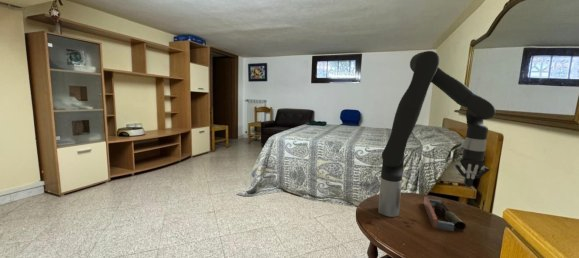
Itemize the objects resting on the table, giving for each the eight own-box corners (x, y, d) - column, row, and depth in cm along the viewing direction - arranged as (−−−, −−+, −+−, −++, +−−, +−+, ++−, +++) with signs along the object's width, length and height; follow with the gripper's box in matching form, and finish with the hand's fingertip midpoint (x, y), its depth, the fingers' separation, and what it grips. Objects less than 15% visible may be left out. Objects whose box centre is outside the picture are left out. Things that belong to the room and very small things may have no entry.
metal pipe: (465, 231, 99) (467, 219, 98) (449, 230, 100) (450, 218, 99) (442, 210, 117) (443, 199, 116) (428, 209, 117) (429, 199, 116)
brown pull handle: (432, 227, 101) (433, 219, 101) (423, 203, 123) (424, 196, 123) (453, 231, 99) (454, 222, 98) (440, 206, 121) (441, 198, 120)
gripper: (458, 148, 101) (453, 186, 104) (497, 152, 96) (489, 191, 99) (453, 144, 108) (448, 180, 111) (489, 148, 103) (482, 185, 106)
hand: (467, 185), depth 105 cm, fingers closed
